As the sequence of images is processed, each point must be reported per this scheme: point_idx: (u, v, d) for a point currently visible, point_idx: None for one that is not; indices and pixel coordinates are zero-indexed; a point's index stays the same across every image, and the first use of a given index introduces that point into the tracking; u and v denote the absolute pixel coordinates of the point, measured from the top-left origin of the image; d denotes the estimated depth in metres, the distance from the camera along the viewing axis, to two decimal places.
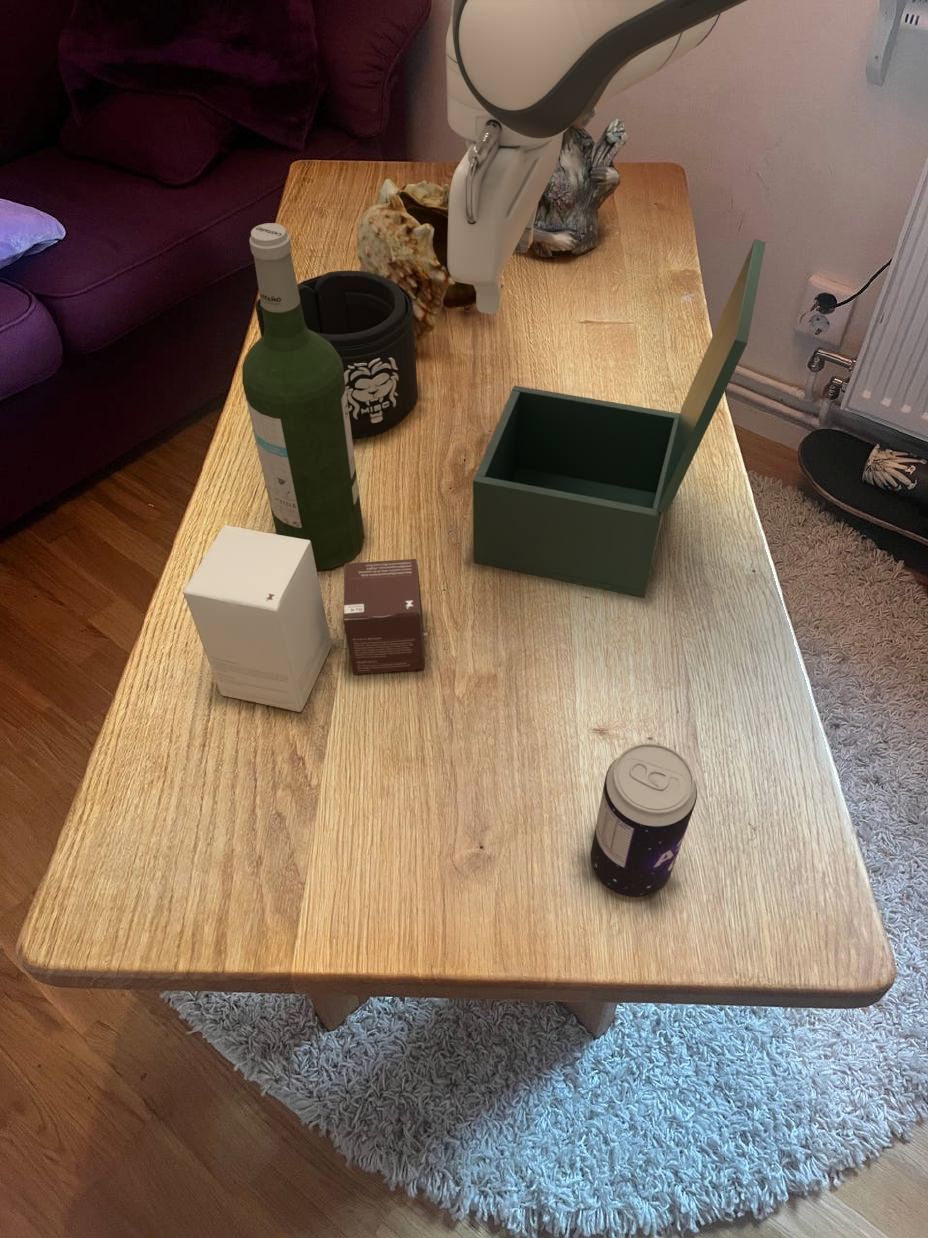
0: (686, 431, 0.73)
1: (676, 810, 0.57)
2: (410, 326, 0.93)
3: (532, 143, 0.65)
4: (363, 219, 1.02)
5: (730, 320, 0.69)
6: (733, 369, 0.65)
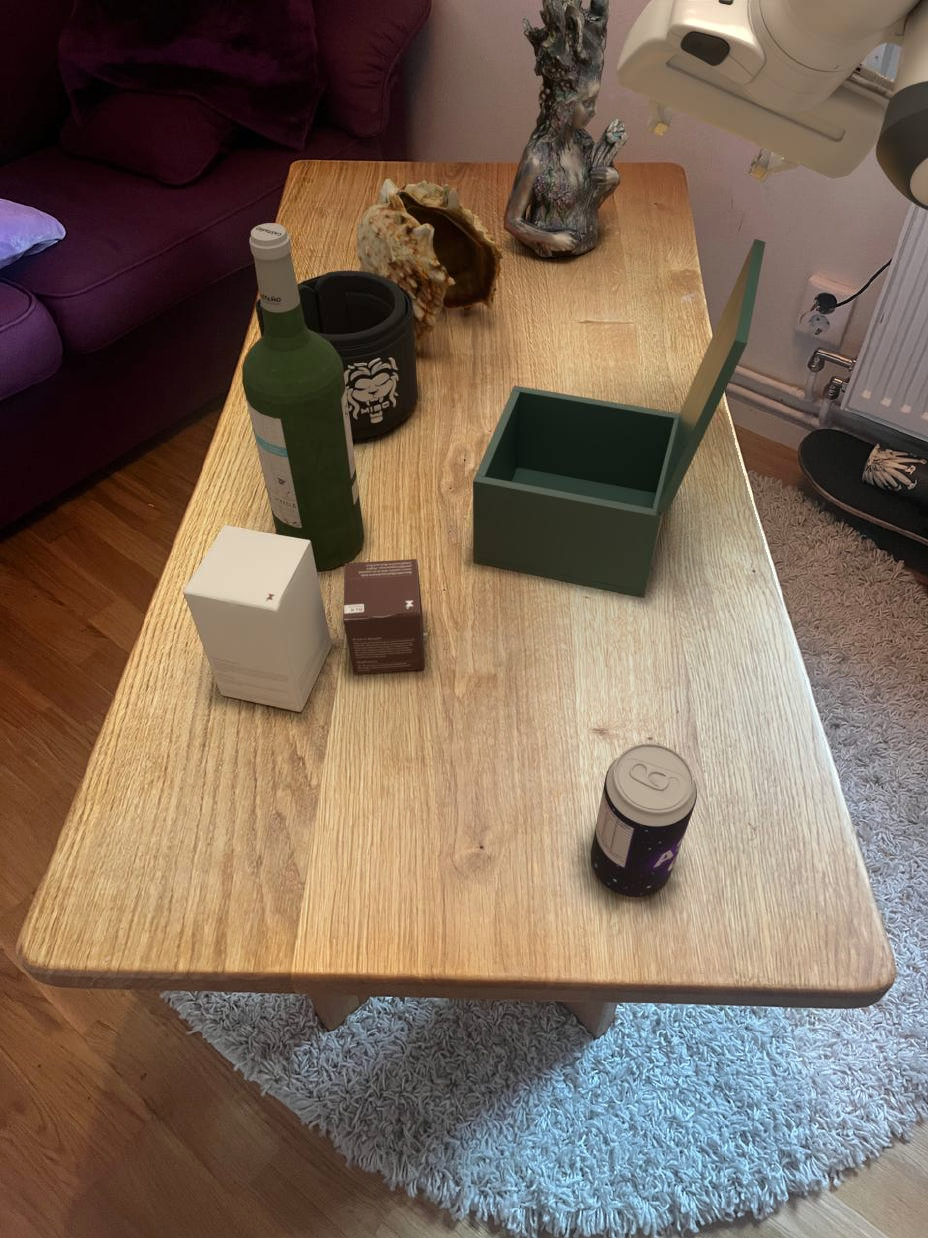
0: (686, 431, 0.73)
1: (676, 810, 0.57)
2: (410, 326, 0.93)
3: None
4: (363, 219, 1.02)
5: (730, 320, 0.69)
6: (733, 369, 0.65)
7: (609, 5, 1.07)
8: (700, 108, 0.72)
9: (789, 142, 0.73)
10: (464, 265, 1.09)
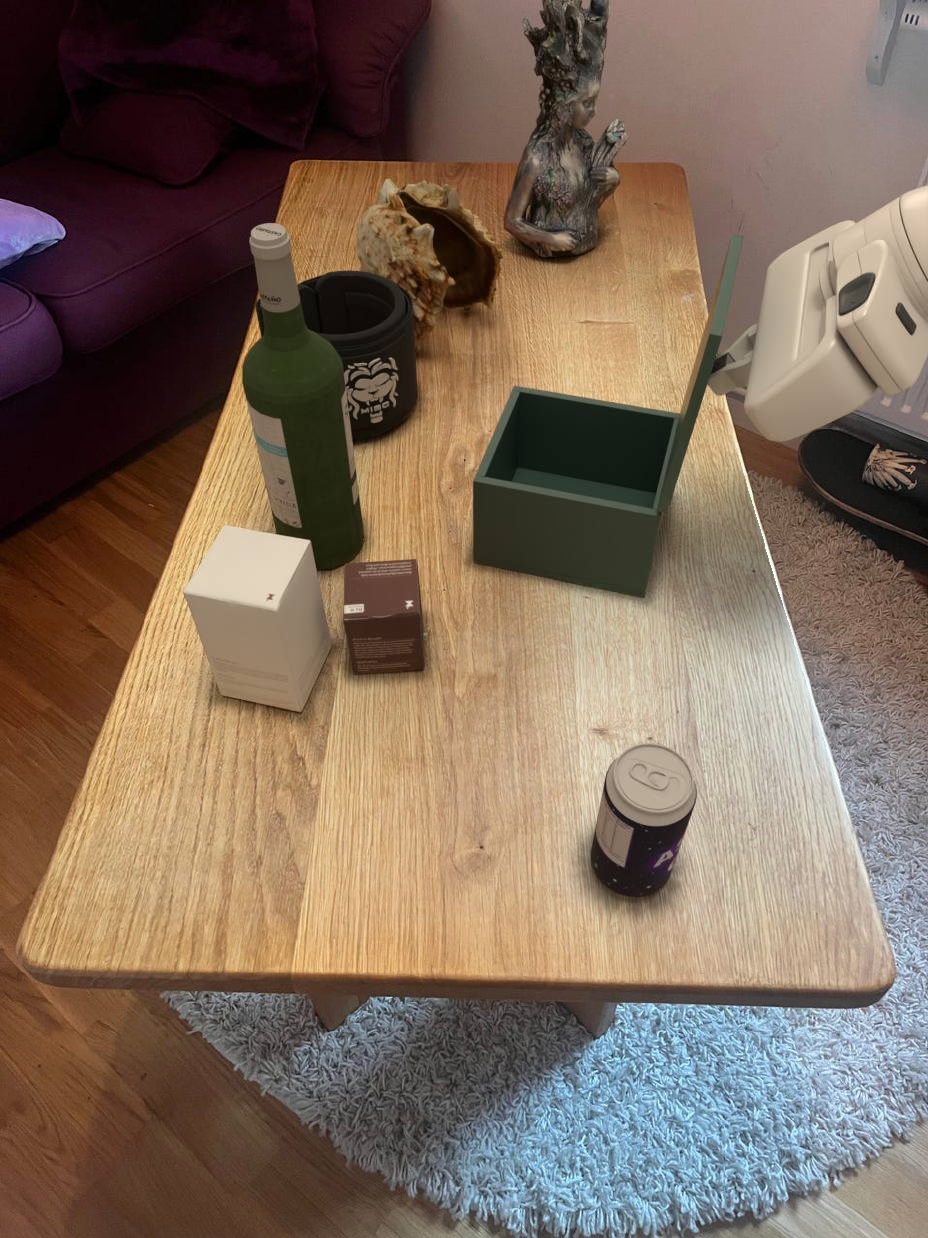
0: (679, 429, 0.74)
1: (676, 810, 0.57)
2: (410, 326, 0.93)
3: None
4: (363, 219, 1.02)
5: (711, 316, 0.69)
6: (712, 363, 0.65)
7: (609, 5, 1.07)
8: None
9: None
10: (464, 265, 1.09)
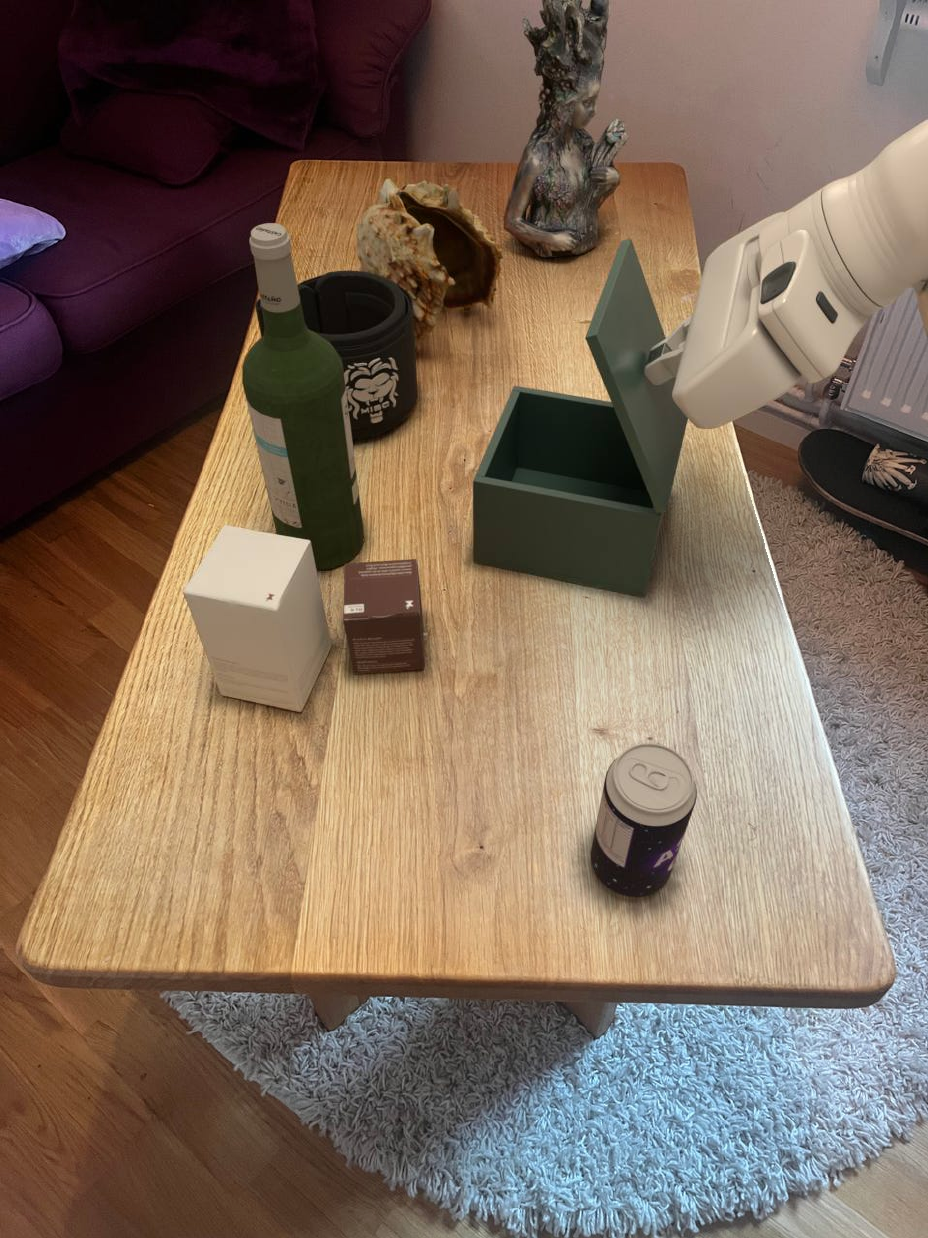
0: None
1: (676, 810, 0.57)
2: (410, 326, 0.93)
3: None
4: (363, 219, 1.02)
5: None
6: (605, 361, 0.67)
7: (609, 5, 1.07)
8: None
9: None
10: (464, 265, 1.09)
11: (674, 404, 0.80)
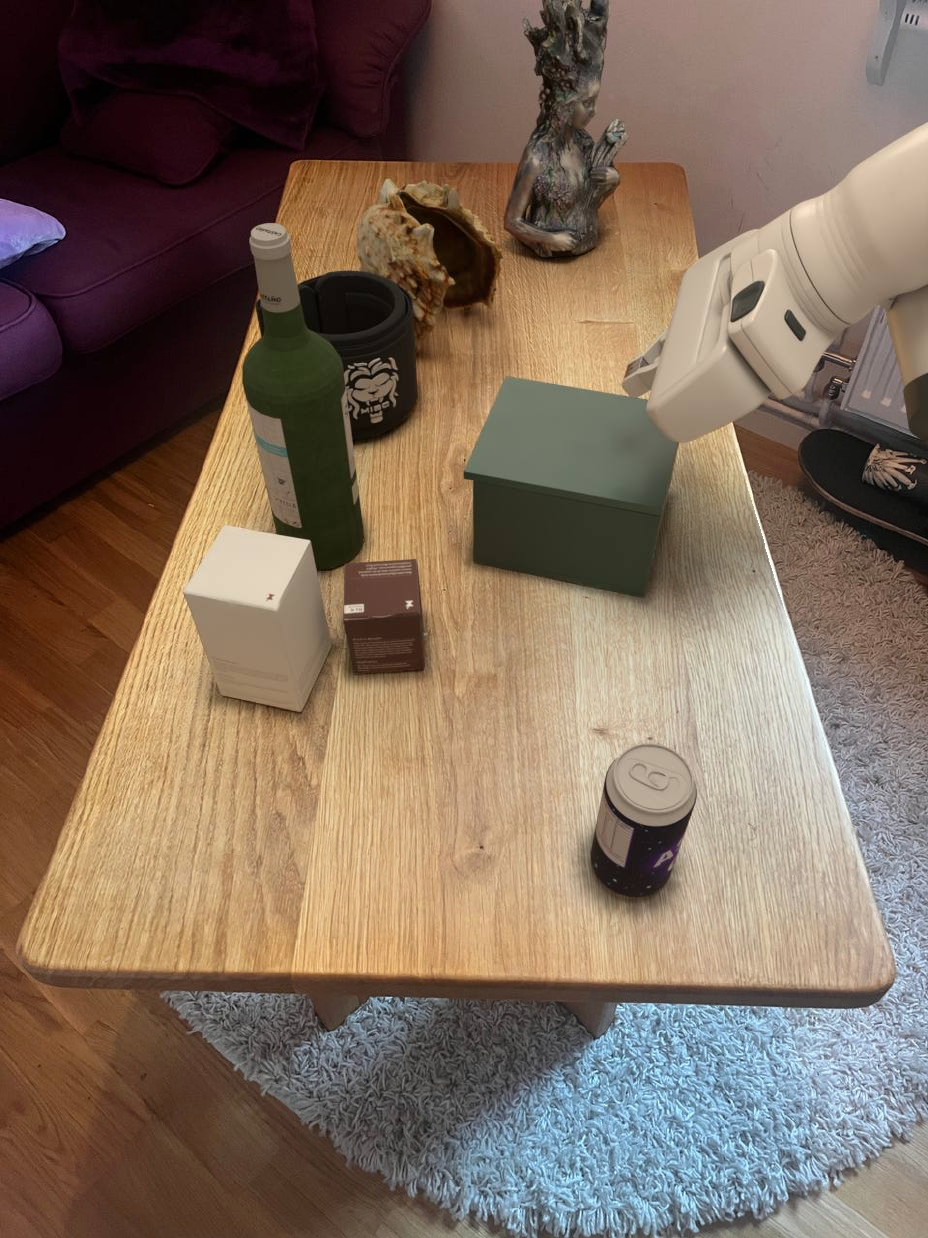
0: None
1: (676, 810, 0.57)
2: (410, 326, 0.93)
3: None
4: (363, 219, 1.02)
5: None
6: (488, 476, 0.78)
7: (609, 5, 1.07)
8: None
9: None
10: (464, 265, 1.09)
11: (645, 424, 0.82)
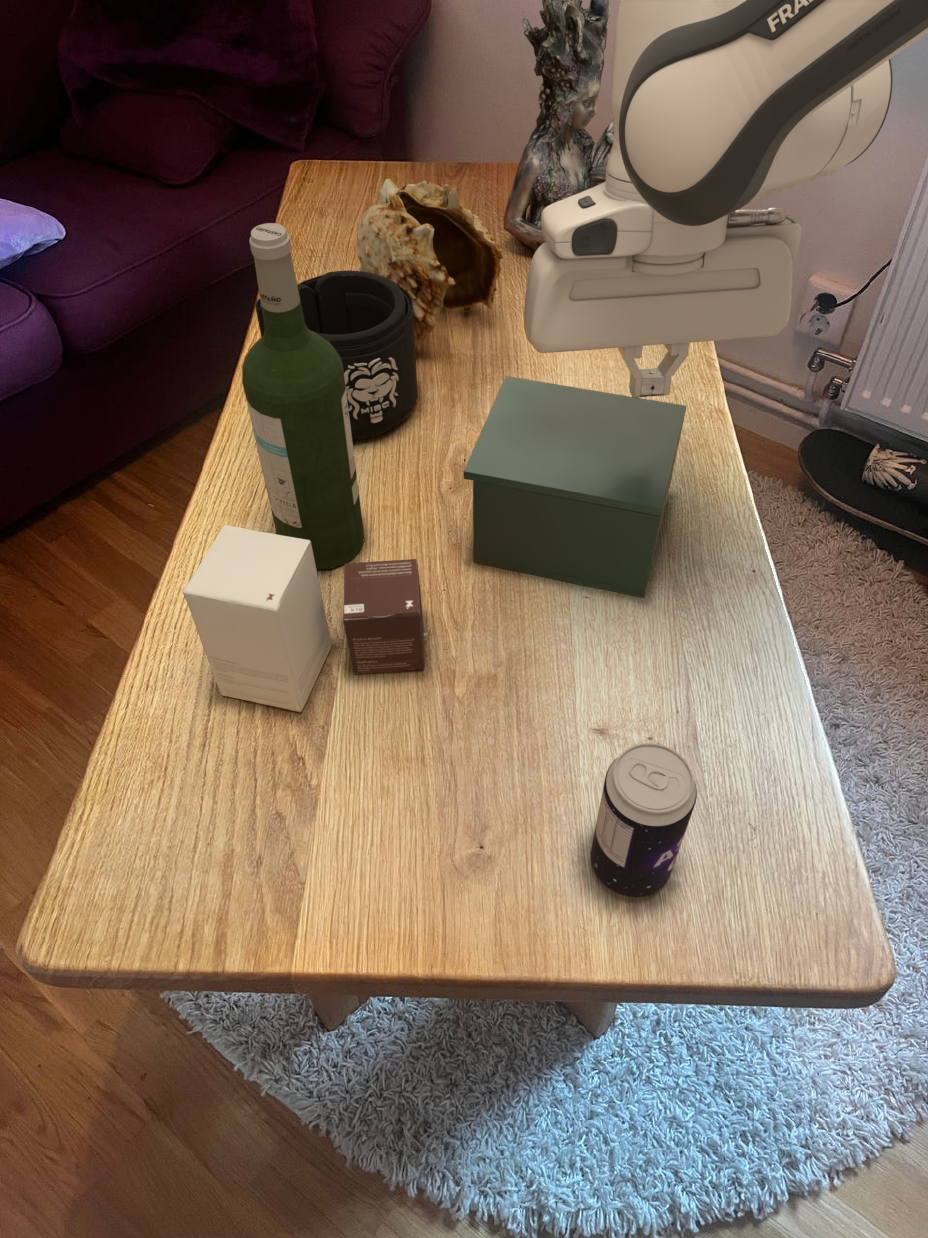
0: None
1: (676, 810, 0.57)
2: (410, 326, 0.93)
3: None
4: (363, 219, 1.02)
5: None
6: (488, 476, 0.78)
7: (609, 5, 1.07)
8: (622, 330, 0.72)
9: (717, 316, 0.72)
10: (464, 265, 1.09)
11: (645, 424, 0.82)
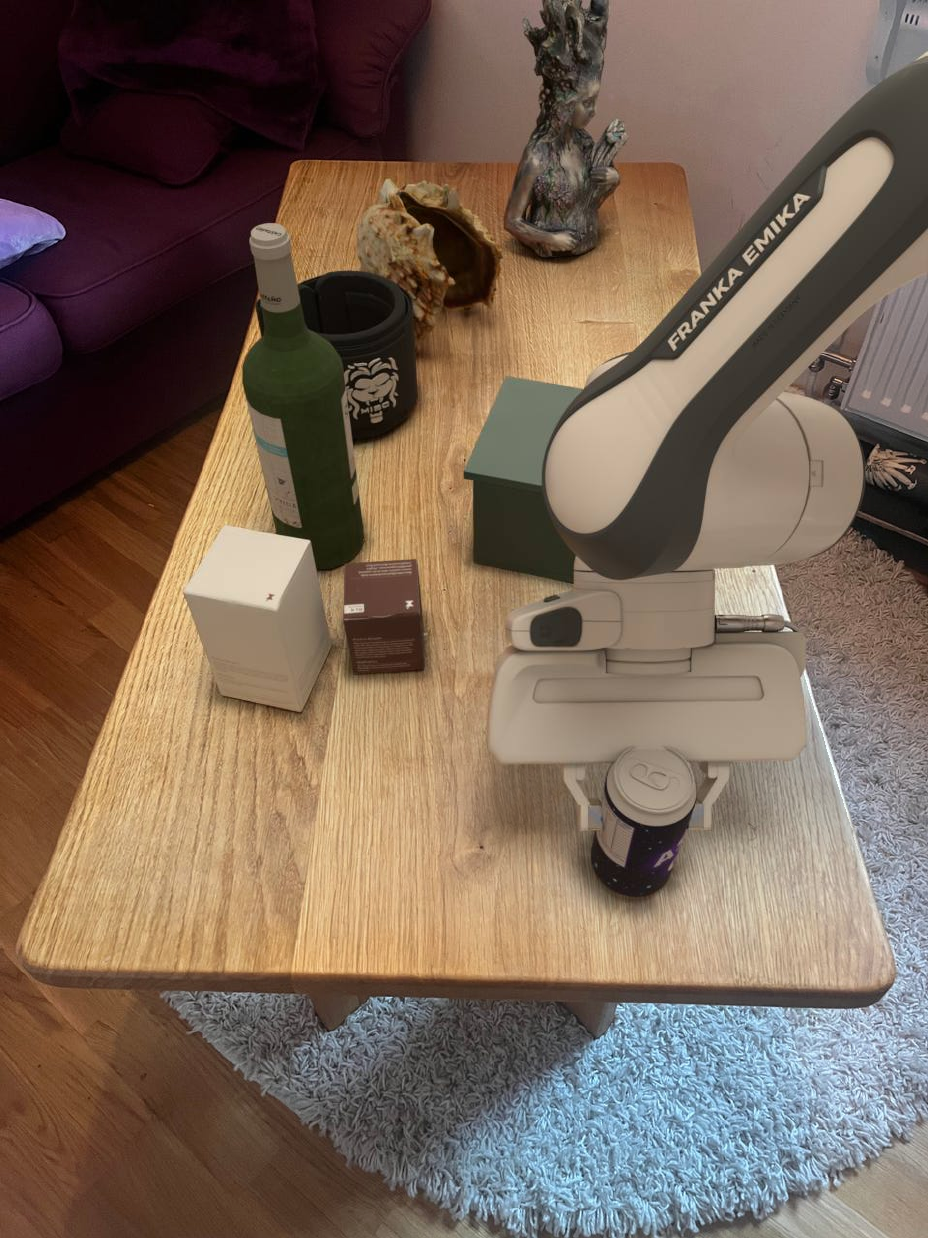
0: None
1: (677, 810, 0.57)
2: (410, 326, 0.93)
3: None
4: (363, 219, 1.02)
5: None
6: (488, 476, 0.78)
7: (609, 5, 1.07)
8: (599, 741, 0.60)
9: (715, 730, 0.60)
10: (464, 265, 1.09)
11: None
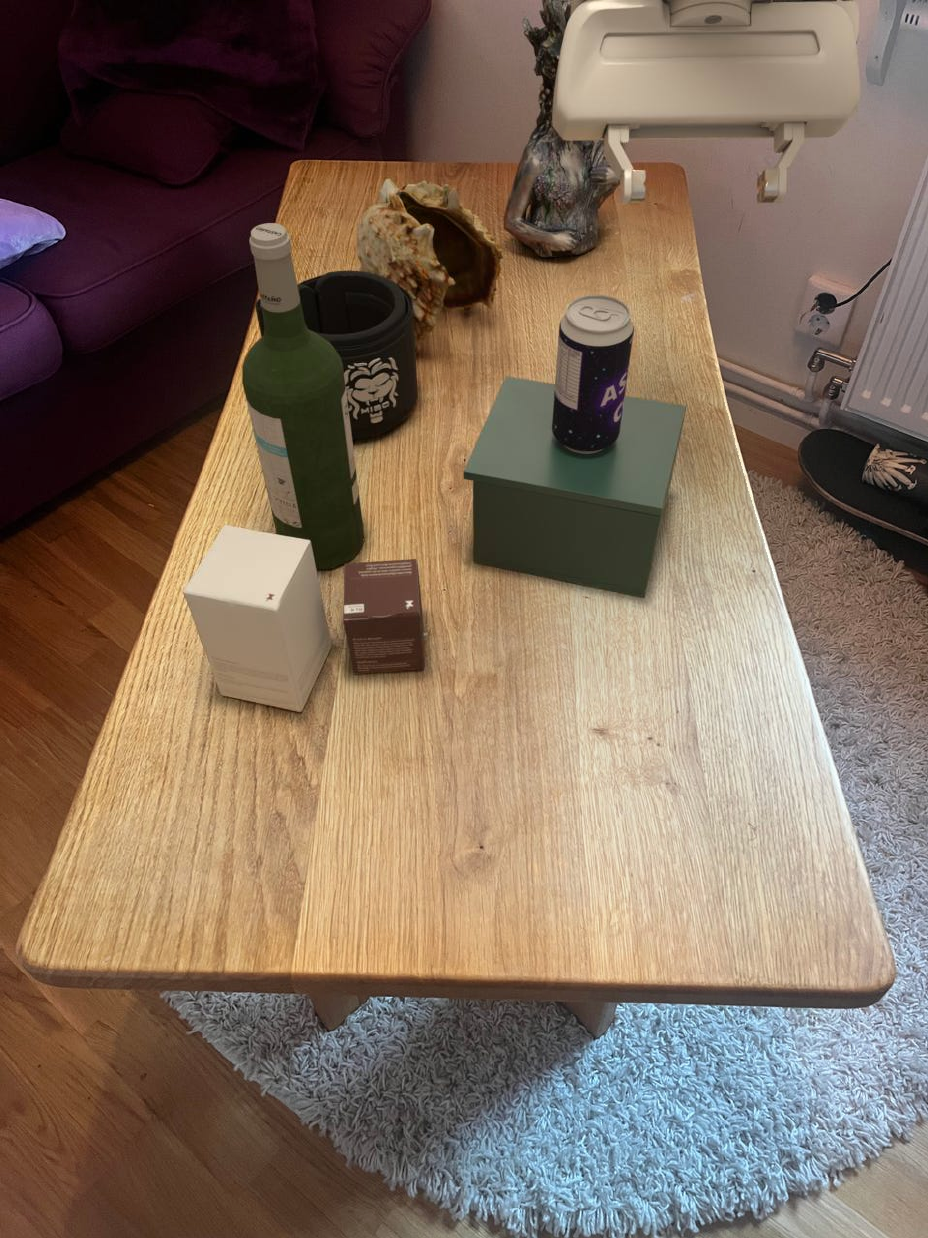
0: None
1: (616, 331, 0.71)
2: (410, 326, 0.93)
3: None
4: (363, 219, 1.02)
5: None
6: (488, 477, 0.78)
7: None
8: (663, 95, 0.63)
9: (774, 84, 0.63)
10: (464, 265, 1.09)
11: (645, 424, 0.82)
